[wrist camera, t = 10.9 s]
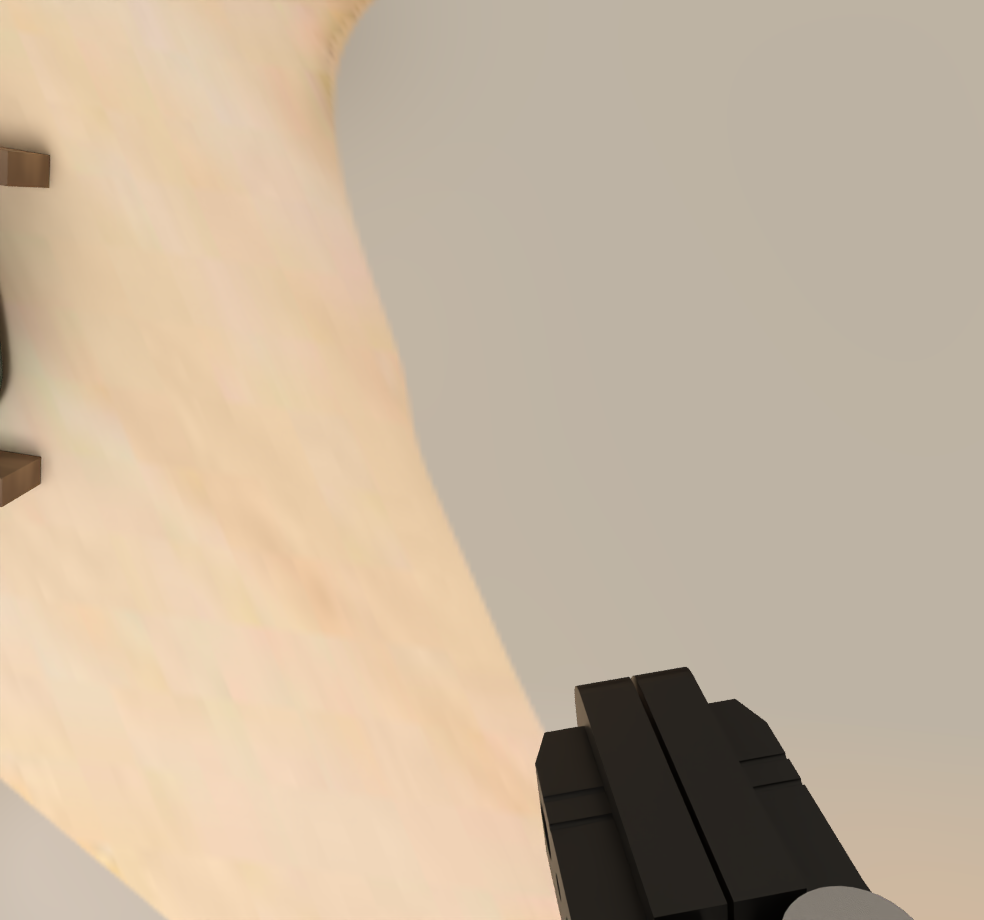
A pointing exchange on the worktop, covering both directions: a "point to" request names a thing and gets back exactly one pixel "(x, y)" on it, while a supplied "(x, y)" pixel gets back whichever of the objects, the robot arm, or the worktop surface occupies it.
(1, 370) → the coffee jar
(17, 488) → the wooden u-shaped frame
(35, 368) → the worktop surface
